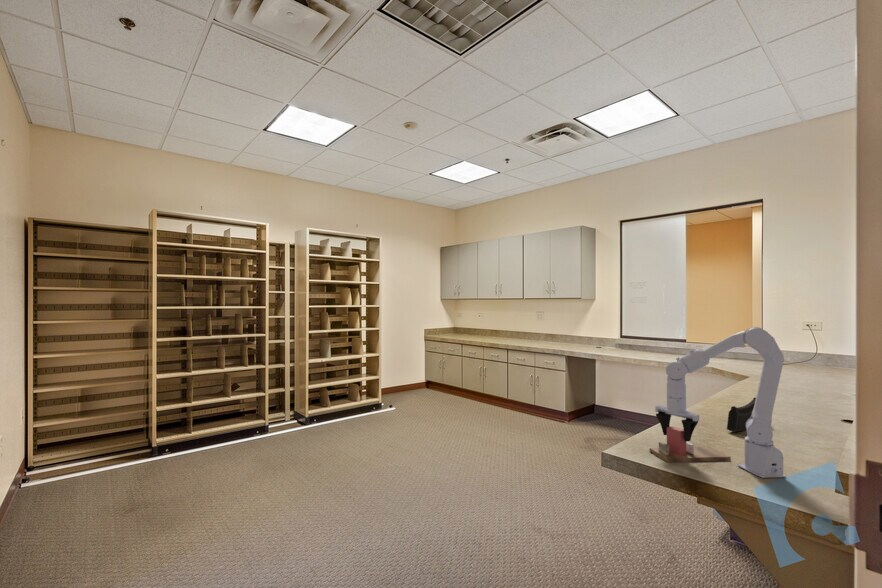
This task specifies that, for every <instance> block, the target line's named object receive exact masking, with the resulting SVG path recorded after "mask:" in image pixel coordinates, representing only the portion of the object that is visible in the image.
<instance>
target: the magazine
mask: <svg viewBox="0 0 882 588" xmlns="http://www.w3.org/2000/svg"><path fill="white" fill-rule="evenodd" d="M755 400H756V397H753V398H752V400H751V401H749V402H748V403H747V404H745V405H743V406H739V407H737V406H731V407H730V410H729V411H728V415H727V416H728V417H727V425H726V430H727V431H729V432H735V433H736V432H744V431H747V429H746V422H747V420H748V419H749V418H750V417H751V415H752V411H753V409H754V405H755Z"/></svg>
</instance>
